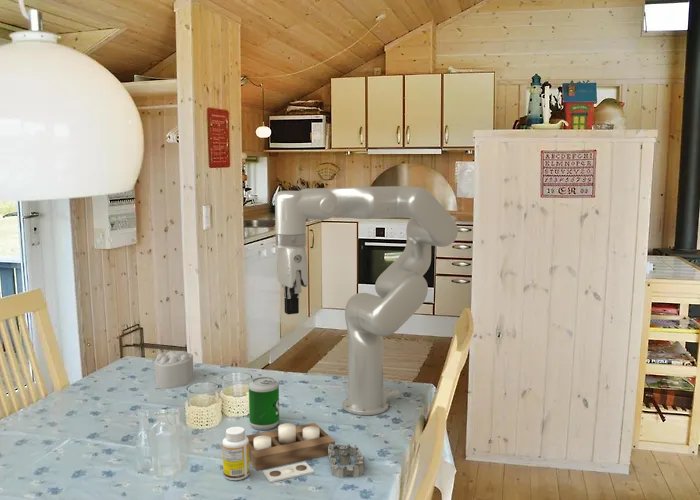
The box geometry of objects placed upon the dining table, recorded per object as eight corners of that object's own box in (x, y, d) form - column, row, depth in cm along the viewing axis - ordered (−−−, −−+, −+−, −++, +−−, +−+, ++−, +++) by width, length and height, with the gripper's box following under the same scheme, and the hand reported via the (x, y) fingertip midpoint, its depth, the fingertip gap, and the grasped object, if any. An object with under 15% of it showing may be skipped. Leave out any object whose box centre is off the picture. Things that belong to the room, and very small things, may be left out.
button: (315, 439, 157) (315, 425, 157) (322, 445, 154) (322, 431, 153) (300, 442, 156) (299, 428, 155) (306, 448, 152) (306, 434, 152)
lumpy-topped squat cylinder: (197, 375, 206) (196, 348, 205) (181, 389, 193) (180, 361, 192) (165, 374, 207) (164, 347, 206) (148, 388, 195) (147, 360, 193)
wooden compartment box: (314, 434, 162) (314, 422, 161) (335, 453, 151) (335, 441, 151) (240, 449, 153) (240, 436, 153) (256, 470, 143) (255, 457, 142)
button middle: (292, 436, 155) (292, 422, 154) (298, 442, 151) (298, 428, 150) (276, 439, 153) (275, 425, 152) (282, 446, 149) (281, 431, 149)
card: (305, 463, 146) (305, 461, 146) (314, 472, 142) (314, 470, 142) (262, 472, 142) (262, 470, 142) (270, 482, 137) (270, 480, 137)
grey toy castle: (364, 479, 140) (364, 460, 139) (329, 480, 139) (329, 461, 139) (360, 456, 150) (360, 439, 150) (327, 457, 150) (327, 440, 149)
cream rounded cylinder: (268, 448, 152) (267, 434, 152) (273, 455, 149) (273, 440, 148) (251, 451, 150) (251, 437, 150) (256, 459, 147) (256, 444, 146)
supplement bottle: (238, 466, 145) (236, 422, 143) (254, 474, 141) (254, 429, 140) (217, 476, 140) (216, 430, 139) (234, 484, 137) (233, 437, 135)
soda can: (274, 432, 163) (273, 386, 161) (245, 430, 164) (244, 384, 162) (283, 421, 170) (282, 376, 168) (255, 418, 171) (254, 374, 170)
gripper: (316, 243, 157) (317, 318, 159) (294, 236, 170) (294, 306, 173) (287, 245, 153) (288, 321, 156) (266, 238, 167) (267, 308, 169)
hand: (291, 313), depth 164 cm, fingers closed
